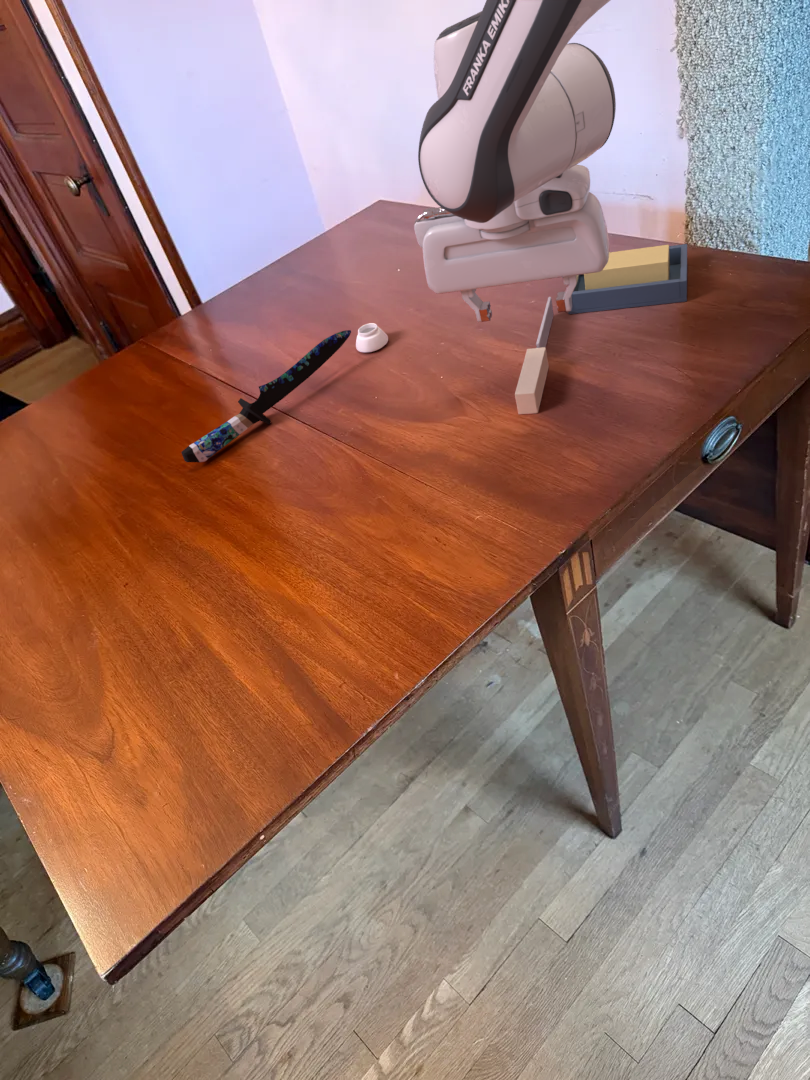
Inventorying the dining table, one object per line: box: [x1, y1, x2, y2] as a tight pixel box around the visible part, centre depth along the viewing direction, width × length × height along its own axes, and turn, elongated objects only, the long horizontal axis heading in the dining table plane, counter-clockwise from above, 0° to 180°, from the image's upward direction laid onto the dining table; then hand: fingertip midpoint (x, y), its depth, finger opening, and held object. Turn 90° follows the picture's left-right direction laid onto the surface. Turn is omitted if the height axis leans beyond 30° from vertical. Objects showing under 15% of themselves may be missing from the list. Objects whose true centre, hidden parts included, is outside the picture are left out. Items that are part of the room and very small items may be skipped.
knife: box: [180, 329, 352, 463], centre depth 105 cm, size 31×3×4 cm, turn 126°
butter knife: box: [514, 296, 555, 415], centre depth 97 cm, size 23×2×3 cm, turn 164°
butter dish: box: [567, 243, 688, 315], centre depth 105 cm, size 16×11×3 cm
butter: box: [584, 244, 670, 290], centre depth 104 cm, size 11×5×4 cm, turn 74°
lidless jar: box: [355, 322, 389, 353], centre depth 113 cm, size 5×3×5 cm
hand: (524, 314), depth 87 cm, fingers open, 8 cm apart
